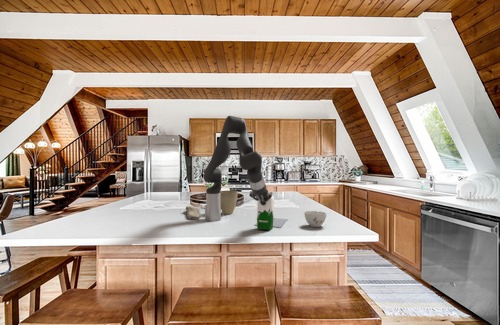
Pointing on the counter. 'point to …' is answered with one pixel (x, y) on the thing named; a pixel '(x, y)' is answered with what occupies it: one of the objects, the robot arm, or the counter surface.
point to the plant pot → (228, 201)
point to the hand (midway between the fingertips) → (263, 204)
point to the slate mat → (277, 222)
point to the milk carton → (265, 214)
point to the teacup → (315, 218)
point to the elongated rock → (193, 213)
